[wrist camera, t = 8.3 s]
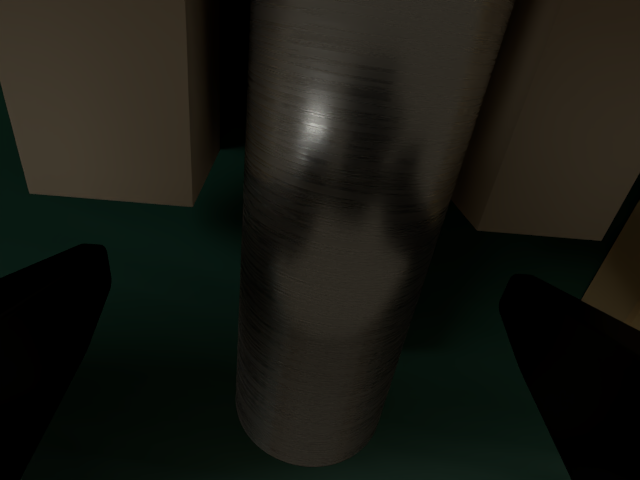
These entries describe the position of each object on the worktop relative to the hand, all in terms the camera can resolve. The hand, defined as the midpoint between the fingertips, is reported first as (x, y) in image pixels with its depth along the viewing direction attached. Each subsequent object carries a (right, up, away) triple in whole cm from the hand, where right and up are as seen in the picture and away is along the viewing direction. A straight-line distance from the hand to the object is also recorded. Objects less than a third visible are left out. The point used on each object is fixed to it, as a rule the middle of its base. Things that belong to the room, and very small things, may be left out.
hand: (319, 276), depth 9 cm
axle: (+1, +2, -1) cm, 3 cm away
